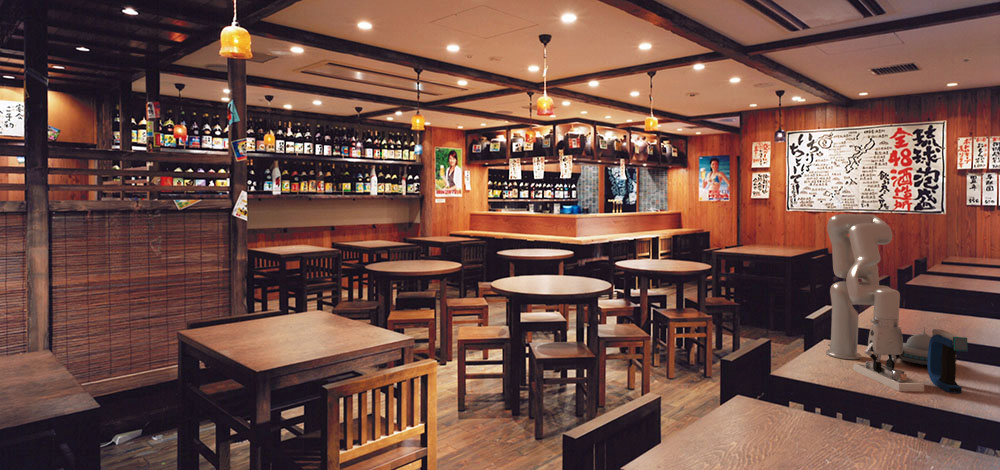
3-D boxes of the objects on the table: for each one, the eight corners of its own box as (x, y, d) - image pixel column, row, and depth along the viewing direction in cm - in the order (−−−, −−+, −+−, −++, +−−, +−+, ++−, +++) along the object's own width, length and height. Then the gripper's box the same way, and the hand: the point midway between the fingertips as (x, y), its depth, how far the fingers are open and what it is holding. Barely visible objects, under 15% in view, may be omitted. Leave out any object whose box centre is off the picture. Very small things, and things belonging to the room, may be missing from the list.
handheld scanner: (950, 394, 180) (954, 337, 179) (924, 379, 196) (928, 326, 195) (966, 396, 179) (970, 338, 178) (939, 381, 195) (943, 327, 193)
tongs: (909, 386, 187) (910, 373, 186) (899, 386, 187) (899, 373, 186) (874, 371, 204) (875, 359, 204) (865, 371, 204) (865, 359, 204)
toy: (970, 371, 206) (972, 333, 205) (916, 371, 206) (917, 332, 205) (928, 356, 226) (930, 321, 226) (879, 356, 227) (881, 321, 226)
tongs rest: (853, 370, 207) (853, 363, 207) (875, 370, 207) (875, 363, 207) (898, 391, 183) (899, 383, 183) (923, 391, 183) (924, 383, 183)
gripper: (870, 324, 192) (867, 375, 193) (916, 325, 192) (914, 375, 193) (856, 320, 199) (853, 368, 200) (900, 320, 199) (898, 368, 201)
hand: (883, 371), depth 197 cm, fingers open, 4 cm apart
